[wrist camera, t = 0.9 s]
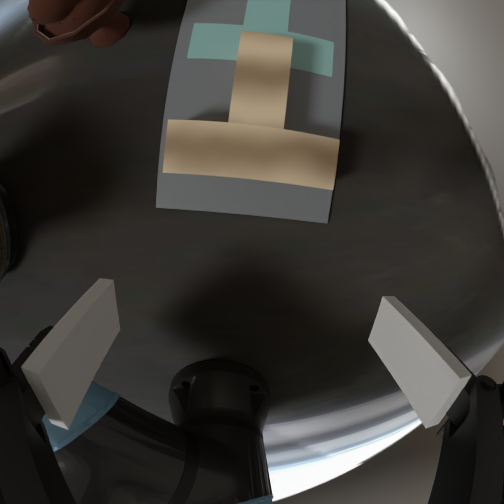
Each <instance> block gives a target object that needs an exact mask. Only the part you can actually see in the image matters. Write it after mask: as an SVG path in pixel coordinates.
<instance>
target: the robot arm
mask: <svg viewBox="0 0 504 504" xmlns="http://www.w3.org/2000/svg"><path fill="white" fill-rule="evenodd" d="M119 331H120V325H119V319H118V312H117V305H116V297H115V288H114V280H109V279H101V278H100V279H99V280H98V281H97V282H96V283H95V284H94V285H93V286H92V287H91V288H90V289H89V290H88V291H87V292H86V293H85V294H84V295H83V296H82V297H81V298H80V299H79V300H78V301H77V302H76V303H75V304H74V305H73V307H72V308H71V309H70V310H69V311H68V312H67V313H66V314H65V315H64V316H63V317H62V319H61V320H60V321H59V322H58V323H57V324H56V325H55V326H54V327H53V326H49V327H47V328H45V329H44V330H42V331H40V332H39V334H38V335H37V336H36V337H35V338H34V341H33V340H32V342H31V343H30V344H29V346H28V347H26V349H25V350H24V351H23V352H22V353H21V354H20V356H19V357H18V358H17V359H16V361H15V362H14V363H13V364H12V365H11V363H10V360H9V358H8V356H7V354H6V351H5V350H4V349H3V348H0V504H272V499H273V494H272V490H271V484H270V478H269V472H268V466H267V460H266V454H265V448H264V442H263V433H262V432H263V429H264V425H265V422H266V418H267V414H268V411H269V407H270V396H269V390H268V386H267V384H266V382H265V380H264V379H263V378H262V376H260V375H259V374H258V373H257V372H256V371H254V370H252V369H251V368H249V367H247V366H244V365H242V364H238V363H234V362H230V361H220V360H212V361H203V362H198V363H195V364H192V365H189V366H187V367H185V368H184V369H182V370H181V371H179V372H178V373H177V374H176V375H175V377H174V378H173V380H172V382H171V386H170V391H169V404H170V409H171V413H172V417H173V421H174V424H173V423H170V422H168V421H166V420H164V419H162V418H160V417H158V416H156V415H154V414H152V413H150V412H148V411H146V410H144V409H142V408H140V407H138V406H136V405H135V404H133V403H131V402H129V401H127V400H126V399H124V398H122V397H120V395H119V394H118V393H117V392H111V391H110V390H108V389H106V388H104V387H103V386H101V385H99V384H97V383H96V382H94V381H92V380H93V378H94V376H95V374H96V372H97V370H98V368H99V367H100V365H101V363H102V361H103V359H104V357H105V355H106V354H107V352H108V350H109V348H110V346H111V345H112V343H113V341H114V339H115V338H116V336H117V334H118V332H119ZM368 341H369V343H370V344H371V345H372V347H373V348H374V350H375V351H376V353H377V354H378V356H379V357H380V359H381V360H382V361H383V363H384V364H385V366H386V367H387V369H388V370H389V372H390V373H391V375H392V376H393V378H394V379H395V381H396V382H397V384H398V385H399V387H400V388H401V390H402V392H403V393H404V395H405V396H406V398H407V399H408V401H409V402H410V404H411V405H412V407H413V409H414V410H415V412H416V413H417V415H418V417H419V418H420V420H421V421H422V423H423V425H424V426H425V428H428V427H431V426H434V425H436V424H438V423H439V422H440V421H441V419H442V418H443V417H444V416H445V414H447V416H448V417H449V419H448V420H447V421H446V422H445V424H444V425H443V426H442V428H441V429H440V430H439V431H438V432H437V435H436V436H439V435H440V433H441V432H442V431H444V434H443V435H442V436H441V438H443V442H442V447H441V453H440V458H439V463H438V468H437V472H436V476H435V480H434V484H433V488H432V491H431V495H430V498H429V502H428V504H504V426H503V419H504V382H503V384H496V382H495V381H494V380H493V379H491V378H490V377H488V376H484V375H481V376H478V377H476V376H475V375H474V374H473V373H472V372H471V371H470V370H469V369H468V367H467V366H466V365H465V364H464V363H463V362H462V361H461V360H460V359H459V358H458V357H457V356H456V355H455V354H454V353H453V352H452V351H451V349H450V348H449V347H448V346H446V345H445V344H443V343H442V342H441V341H440V340H439V339H438V338H437V337H436V336H435V335H434V334H433V333H432V332H431V331H430V330H429V329H428V328H427V327H426V326H425V325H424V324H423V323H422V322H421V321H420V320H419V319H418V318H417V317H416V316H415V315H413V314H412V313H411V312H410V311H409V310H408V309H407V308H406V307H405V306H404V305H403V304H402V303H401V302H400V301H399V300H398V299H397V298H396V297H394V296H383V297H382V300H381V304H380V307H379V310H378V313H377V316H376V319H375V322H374V325H373V328H372V331H371V334H370V336H369V339H368Z"/></svg>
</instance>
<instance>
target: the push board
mask: <svg viewBox="0 0 504 504" xmlns="http://www.w3.org/2000/svg"><path fill="white" fill-rule="evenodd" d="M241 30H243V31H253V32H261V33H268V34H275V35H281V36H287V37H292V38H293V46H292V56H291V66H290V76H289V85H288V94H287V104H286V113H285V121H284V129H286V130H292V131H298V132H304V133H309V134H314V135H319V136H324V137H329V138H334V139H338V140H339V136H340V126H341V115H342V103H343V90H344V73H345V49H346V0H188V1H187V5H186V8H185V12H184V16H183V20H182V24H181V28H180V32H179V36H178V40H177V45H176V49H175V54H174V59H173V64H172V69H171V75H170V80H169V86H168V92H167V98H166V105H165V112H164V120H163V128H162V136H161V145H160V156H159V167H158V181H157V197H156V208H170V209H184V210H198V211H211V212H223V213H234V214H245V215H255V216H265V217H275V218H284V219H294V220H302V221H311V222H319V223H328V217H329V211H330V204H331V198H332V191H333V190H328V189H322V188H315V187H308V186H302V185H294V184H287V183H279V182H271V181H262V180H253V179H244V178H233V177H222V176H210V175H196V174H179V173H163V162H164V151H165V141H166V132H167V124H168V120H199V121H215V122H228V120H229V112H230V104H231V97H232V89H233V82H234V75H235V68H236V61H237V55H238V48H239V42H240V36H241Z"/></svg>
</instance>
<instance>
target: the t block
mask: <svg viewBox="0 0 504 504" xmlns="http://www.w3.org/2000/svg"><path fill="white" fill-rule="evenodd" d="M292 46H293V38H292V37H287V36H281V35H275V34H268V33H261V32H253V31H243V30H241V36H240V42H239V48H238V55H237V61H236V68H235V75H234V82H233V89H232V97H231V104H230V112H229V120H228V122H215V121H199V120H168V124H167V132H166V141H165V151H164V162H163V173H179V174H196V175H210V176H222V177H233V178H244V179H253V180H262V181H271V182H279V183H287V184H294V185H302V186H308V187H315V188H322V189H328V190H333V189H334V182H335V174H336V167H337V159H338V151H339V142H340V140H338V139H334V138H329V137H324V136H319V135H314V134H309V133H304V132H298V131H292V130H286V129H284V121H285V113H286V104H287V94H288V85H289V76H290V66H291V56H292Z"/></svg>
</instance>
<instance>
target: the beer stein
mask: <svg viewBox="0 0 504 504" xmlns="http://www.w3.org/2000/svg"><path fill="white" fill-rule="evenodd" d="M17 248H18V226H17V222H16V217H15V211H14V207H13V205H12V202H11V200H10V198H9V195H8V193H7V191H6V189H5V188H4V187H3V186H2V185H1V184H0V281H1V280H2V278H3V277H4V276H5V275H6V273H7V272H8V271H9V270H10V268H11V267H12V266H13V265H14V263H15V258H16V253H17Z"/></svg>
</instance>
